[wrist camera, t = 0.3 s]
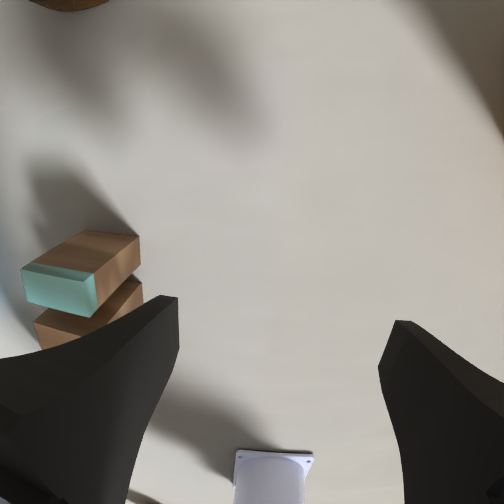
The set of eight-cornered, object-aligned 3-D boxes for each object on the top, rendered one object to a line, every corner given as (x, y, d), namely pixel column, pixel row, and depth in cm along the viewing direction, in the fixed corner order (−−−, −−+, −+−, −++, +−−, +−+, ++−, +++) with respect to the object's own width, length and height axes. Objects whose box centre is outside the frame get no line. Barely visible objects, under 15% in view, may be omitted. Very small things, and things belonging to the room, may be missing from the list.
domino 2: (143, 307, 22) (101, 367, 15) (91, 297, 22) (41, 348, 15) (141, 282, 21) (94, 340, 14) (88, 274, 21) (33, 322, 15)
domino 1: (140, 264, 20) (89, 317, 14) (85, 256, 21) (27, 301, 14) (139, 236, 20) (83, 281, 13) (83, 230, 20) (20, 269, 13)
